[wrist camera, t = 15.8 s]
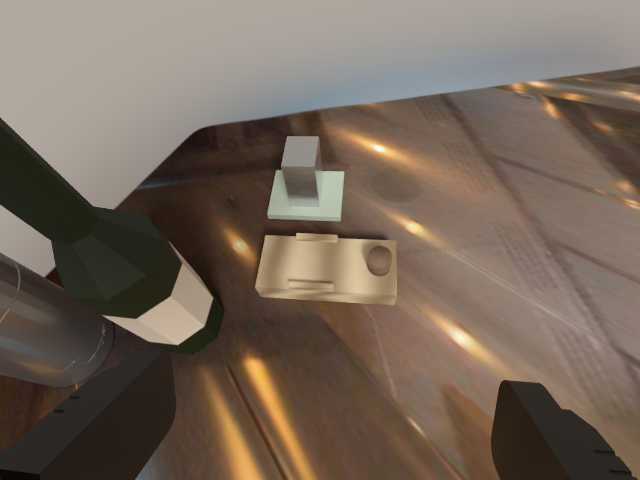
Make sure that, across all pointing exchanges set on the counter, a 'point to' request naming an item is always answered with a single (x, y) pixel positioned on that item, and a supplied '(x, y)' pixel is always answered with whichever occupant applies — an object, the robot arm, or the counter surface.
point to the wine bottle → (109, 255)
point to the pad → (325, 212)
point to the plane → (328, 269)
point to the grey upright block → (302, 171)
